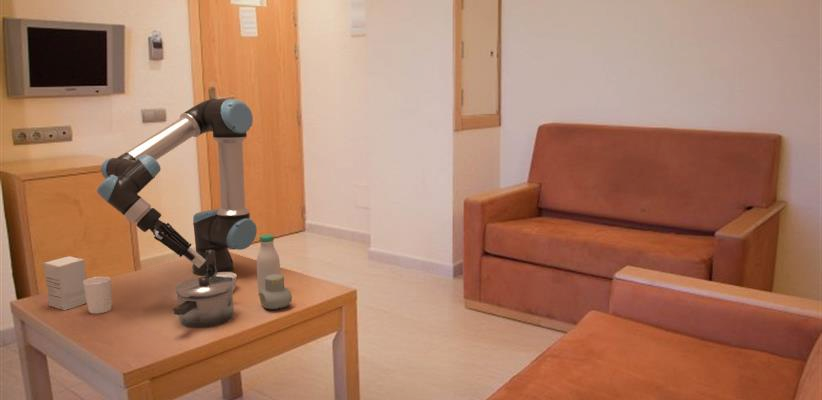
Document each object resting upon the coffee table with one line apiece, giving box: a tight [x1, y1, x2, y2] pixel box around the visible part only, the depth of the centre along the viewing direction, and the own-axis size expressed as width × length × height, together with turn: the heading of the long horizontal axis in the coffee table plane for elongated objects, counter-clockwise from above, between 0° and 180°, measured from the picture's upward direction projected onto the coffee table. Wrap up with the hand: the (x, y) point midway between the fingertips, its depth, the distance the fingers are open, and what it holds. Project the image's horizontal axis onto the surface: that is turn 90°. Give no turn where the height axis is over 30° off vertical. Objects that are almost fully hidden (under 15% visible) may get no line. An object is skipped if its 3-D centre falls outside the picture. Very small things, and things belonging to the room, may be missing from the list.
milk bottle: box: [256, 234, 282, 295], centre depth 221 cm, size 8×8×20 cm
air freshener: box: [259, 273, 293, 310], centre depth 209 cm, size 11×8×10 cm
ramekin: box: [216, 271, 238, 292], centre depth 226 cm, size 11×11×5 cm
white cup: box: [83, 276, 113, 314], centre depth 209 cm, size 8×8×10 cm
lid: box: [175, 249, 233, 298], centre depth 202 cm, size 24×17×8 cm
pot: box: [173, 277, 235, 329], centre depth 200 cm, size 30×16×9 cm, turn 168°
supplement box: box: [42, 255, 88, 311], centre depth 214 cm, size 9×9×15 cm
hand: (202, 264), depth 210 cm, fingers closed
